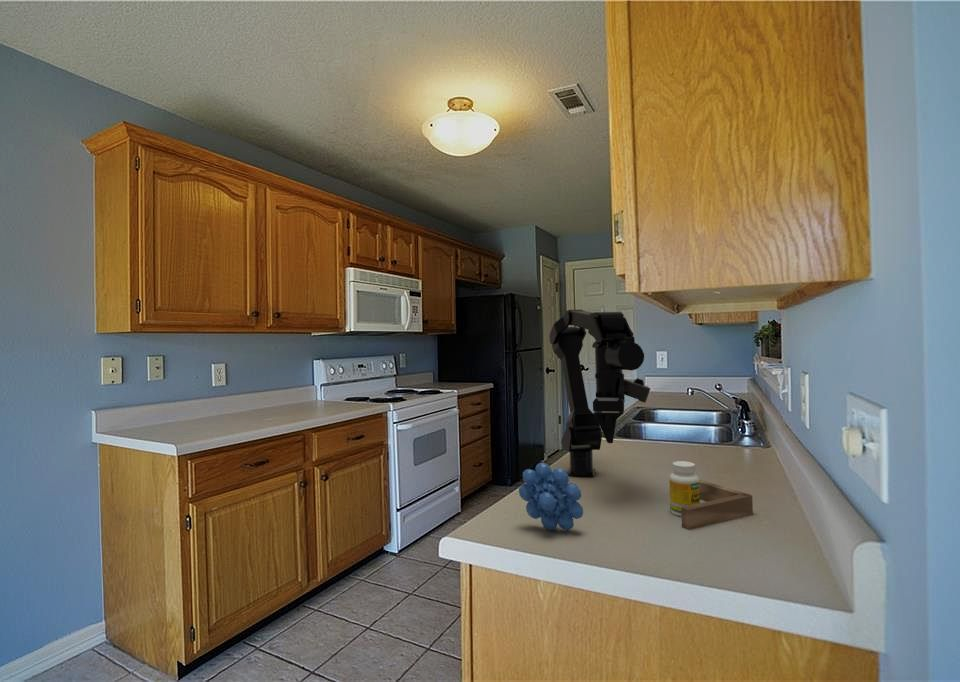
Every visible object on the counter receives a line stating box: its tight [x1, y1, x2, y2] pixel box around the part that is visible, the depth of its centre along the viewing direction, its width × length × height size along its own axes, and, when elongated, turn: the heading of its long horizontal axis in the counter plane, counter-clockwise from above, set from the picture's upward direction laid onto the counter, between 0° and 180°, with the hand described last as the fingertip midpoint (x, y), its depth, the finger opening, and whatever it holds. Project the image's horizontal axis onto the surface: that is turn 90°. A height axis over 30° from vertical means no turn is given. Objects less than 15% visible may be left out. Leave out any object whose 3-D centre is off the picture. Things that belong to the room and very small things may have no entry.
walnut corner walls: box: [681, 479, 754, 531], centre depth 97 cm, size 16×17×4 cm
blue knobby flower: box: [518, 462, 584, 531], centre depth 87 cm, size 12×7×12 cm, turn 70°
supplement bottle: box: [669, 460, 701, 518], centre depth 95 cm, size 5×5×10 cm
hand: (610, 438), depth 108 cm, fingers open, 9 cm apart
